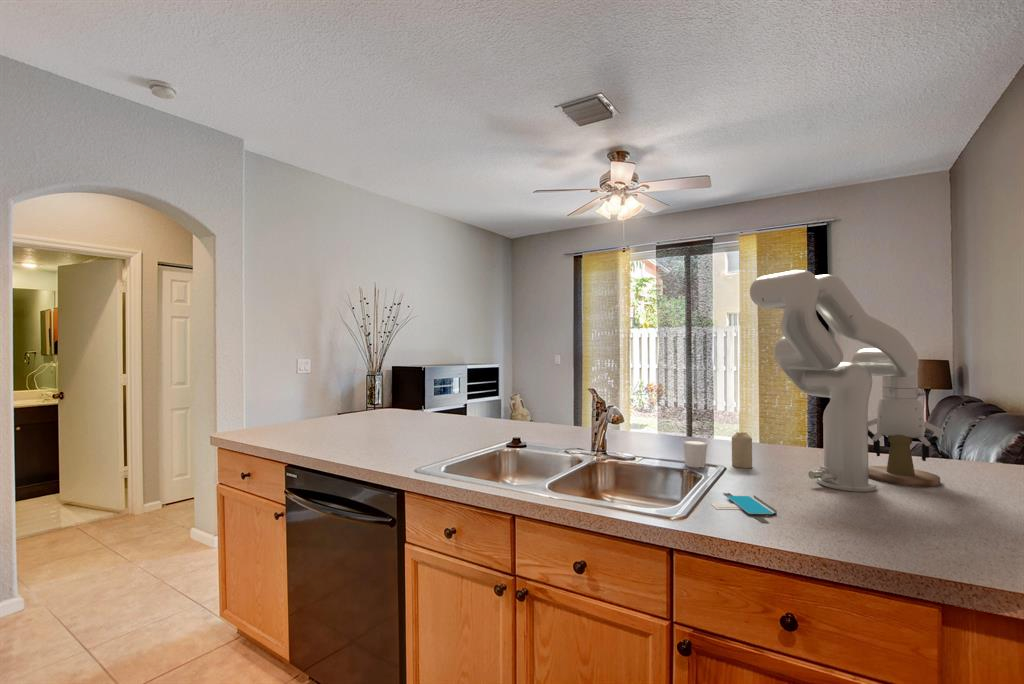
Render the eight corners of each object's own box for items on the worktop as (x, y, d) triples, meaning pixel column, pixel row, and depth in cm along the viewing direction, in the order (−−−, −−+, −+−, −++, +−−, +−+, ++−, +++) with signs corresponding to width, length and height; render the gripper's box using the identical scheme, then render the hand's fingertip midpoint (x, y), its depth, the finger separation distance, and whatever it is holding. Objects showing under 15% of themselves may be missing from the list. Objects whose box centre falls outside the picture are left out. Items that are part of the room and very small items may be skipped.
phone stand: (698, 495, 120) (698, 488, 120) (748, 496, 119) (748, 489, 119) (731, 525, 100) (731, 517, 100) (791, 526, 99) (791, 517, 99)
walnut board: (906, 488, 123) (906, 482, 123) (850, 473, 138) (849, 467, 138) (956, 484, 126) (956, 479, 126) (895, 469, 142) (895, 464, 142)
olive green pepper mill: (882, 469, 136) (882, 429, 136) (909, 471, 134) (908, 430, 134) (891, 474, 131) (890, 433, 131) (919, 476, 128) (918, 434, 129)
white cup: (709, 468, 144) (709, 444, 144) (685, 467, 145) (684, 444, 146) (705, 463, 151) (705, 440, 151) (681, 462, 152) (681, 439, 152)
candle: (743, 469, 143) (743, 434, 143) (727, 465, 148) (727, 432, 148) (756, 467, 146) (756, 433, 146) (740, 463, 151) (739, 430, 151)
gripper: (941, 394, 130) (942, 459, 130) (861, 391, 141) (861, 451, 141) (943, 397, 124) (944, 465, 124) (859, 393, 135) (860, 456, 135)
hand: (900, 457), depth 132 cm, fingers open, 9 cm apart
